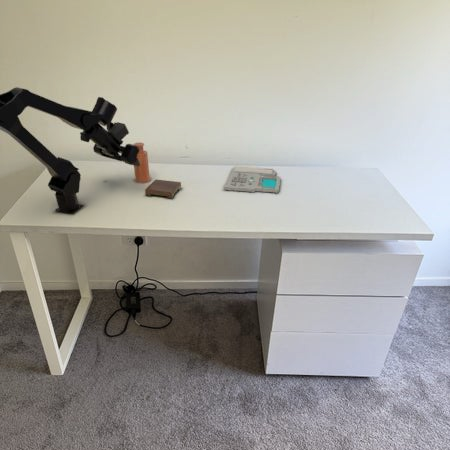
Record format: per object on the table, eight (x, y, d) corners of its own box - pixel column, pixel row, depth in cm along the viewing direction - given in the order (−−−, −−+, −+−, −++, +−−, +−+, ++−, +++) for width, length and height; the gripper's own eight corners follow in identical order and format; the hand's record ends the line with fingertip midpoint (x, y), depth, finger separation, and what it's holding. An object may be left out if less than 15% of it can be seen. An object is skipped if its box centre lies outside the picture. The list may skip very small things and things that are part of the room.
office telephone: (233, 163, 159) (281, 166, 157) (233, 169, 160) (281, 173, 158) (224, 183, 141) (279, 187, 138) (224, 190, 142) (278, 194, 140)
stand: (172, 199, 135) (171, 192, 134) (145, 196, 137) (144, 189, 136) (181, 188, 143) (180, 182, 141) (156, 185, 145) (155, 179, 143)
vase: (150, 182, 147) (146, 145, 139) (135, 183, 146) (131, 146, 138) (149, 177, 152) (146, 141, 143) (135, 177, 151) (130, 142, 142)
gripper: (131, 120, 123) (158, 148, 137) (93, 111, 131) (122, 138, 145) (116, 151, 123) (145, 176, 137) (79, 140, 131) (110, 164, 145)
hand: (130, 162), depth 141 cm, fingers open, 9 cm apart
